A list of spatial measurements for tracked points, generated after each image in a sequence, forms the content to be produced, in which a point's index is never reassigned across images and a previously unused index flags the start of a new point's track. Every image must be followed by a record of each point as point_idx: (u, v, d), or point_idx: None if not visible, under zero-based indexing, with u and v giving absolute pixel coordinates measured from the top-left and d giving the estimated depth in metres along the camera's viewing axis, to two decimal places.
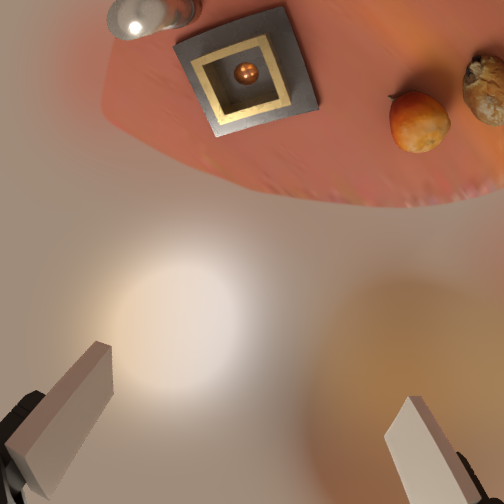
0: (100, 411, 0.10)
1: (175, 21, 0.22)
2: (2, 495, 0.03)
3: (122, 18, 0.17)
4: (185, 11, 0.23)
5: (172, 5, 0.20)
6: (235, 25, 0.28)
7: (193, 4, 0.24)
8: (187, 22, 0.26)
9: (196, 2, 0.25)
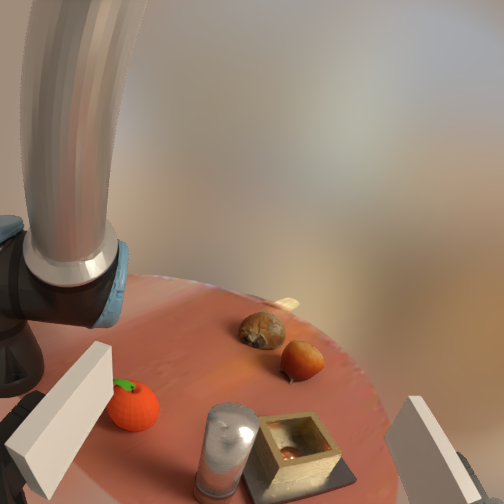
0: (100, 411, 0.10)
1: None
2: (2, 495, 0.03)
3: (233, 424, 0.22)
4: None
5: None
6: None
7: None
8: None
9: None
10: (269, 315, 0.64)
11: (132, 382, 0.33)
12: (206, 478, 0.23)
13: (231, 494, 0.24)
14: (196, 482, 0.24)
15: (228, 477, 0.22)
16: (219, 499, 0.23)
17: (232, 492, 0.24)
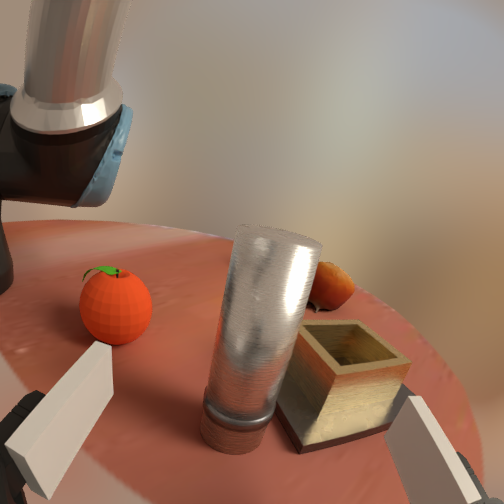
0: (100, 411, 0.10)
1: None
2: (2, 495, 0.03)
3: (281, 237, 0.15)
4: None
5: None
6: None
7: None
8: None
9: None
10: None
11: (118, 269, 0.26)
12: (226, 379, 0.15)
13: (266, 420, 0.17)
14: (206, 400, 0.17)
15: (268, 366, 0.15)
16: (246, 431, 0.16)
17: (268, 416, 0.17)
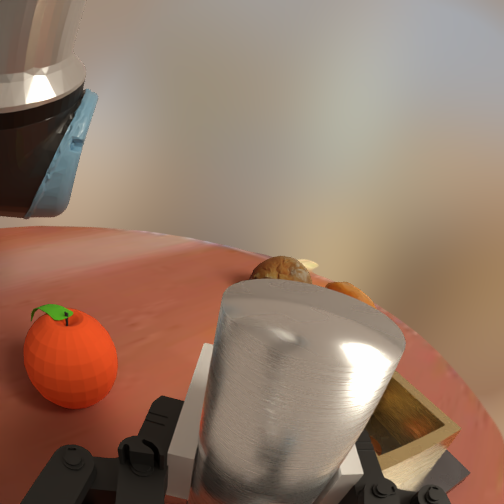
0: None
1: None
2: None
3: (323, 325, 0.06)
4: None
5: None
6: None
7: None
8: None
9: None
10: (290, 258, 0.48)
11: (70, 309, 0.17)
12: None
13: None
14: None
15: None
16: None
17: None
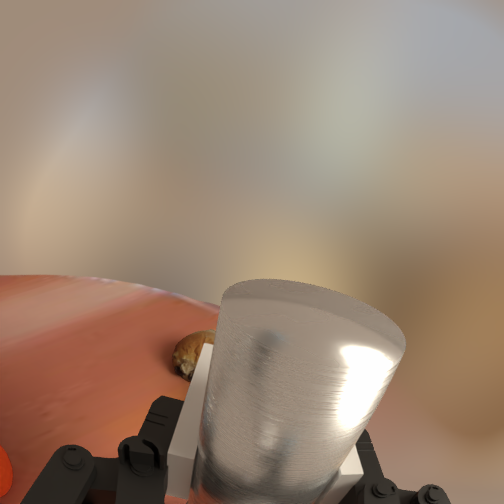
0: None
1: None
2: None
3: (323, 325, 0.06)
4: None
5: None
6: None
7: None
8: None
9: None
10: (213, 336, 0.43)
11: None
12: None
13: None
14: None
15: None
16: None
17: None
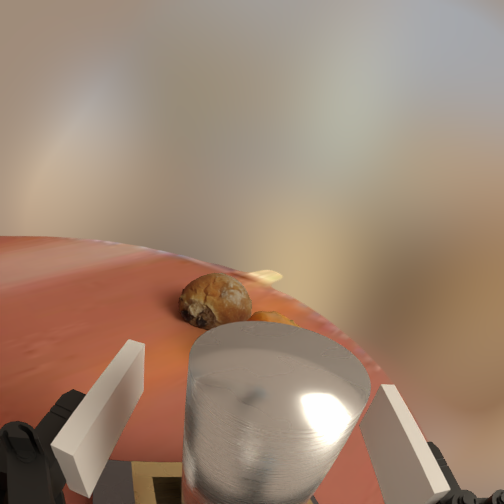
0: (132, 408, 0.11)
1: None
2: (46, 499, 0.04)
3: (285, 379, 0.06)
4: None
5: None
6: None
7: None
8: None
9: None
10: (224, 276, 0.41)
11: None
12: None
13: None
14: None
15: None
16: None
17: None
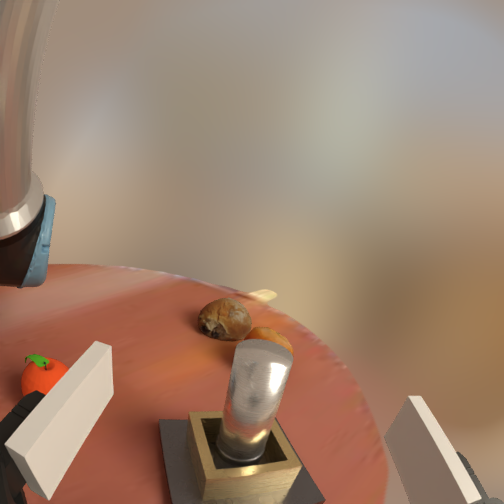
0: (100, 411, 0.10)
1: None
2: (2, 495, 0.03)
3: (264, 357, 0.22)
4: None
5: None
6: (170, 458, 0.24)
7: None
8: None
9: None
10: (231, 301, 0.56)
11: (47, 358, 0.25)
12: (231, 436, 0.22)
13: (258, 458, 0.23)
14: (218, 446, 0.23)
15: (257, 430, 0.21)
16: (244, 465, 0.22)
17: (259, 456, 0.23)
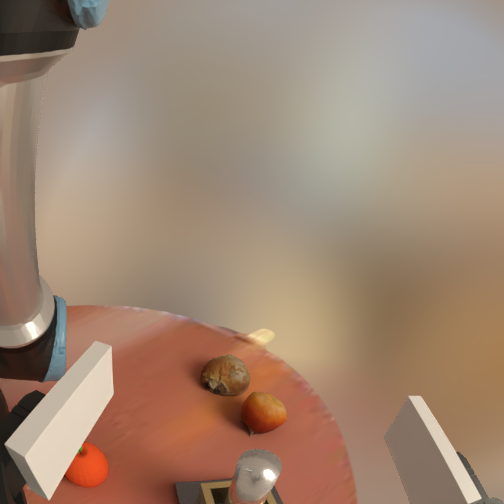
0: (100, 411, 0.10)
1: None
2: (2, 495, 0.03)
3: (260, 468, 0.24)
4: None
5: None
6: None
7: None
8: None
9: None
10: (231, 361, 0.58)
11: None
12: None
13: None
14: None
15: None
16: None
17: None
